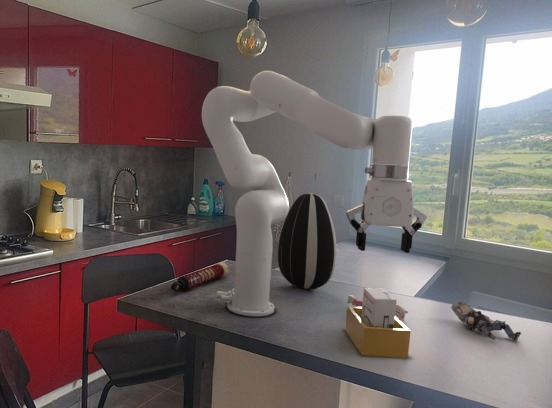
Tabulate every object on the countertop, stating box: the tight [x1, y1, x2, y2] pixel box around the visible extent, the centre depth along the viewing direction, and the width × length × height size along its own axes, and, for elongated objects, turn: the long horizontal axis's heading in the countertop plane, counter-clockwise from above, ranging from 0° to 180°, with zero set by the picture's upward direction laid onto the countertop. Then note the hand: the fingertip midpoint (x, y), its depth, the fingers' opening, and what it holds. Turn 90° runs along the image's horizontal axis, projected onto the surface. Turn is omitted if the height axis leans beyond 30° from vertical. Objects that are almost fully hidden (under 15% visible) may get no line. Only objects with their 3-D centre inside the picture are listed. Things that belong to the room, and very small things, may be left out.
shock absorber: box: [170, 261, 230, 292], centre depth 142 cm, size 5×5×30 cm
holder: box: [344, 306, 411, 359], centre depth 102 cm, size 10×14×6 cm
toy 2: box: [450, 299, 522, 342], centre depth 113 cm, size 7×11×15 cm
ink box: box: [361, 287, 397, 328], centre depth 102 cm, size 9×5×12 cm, turn 178°
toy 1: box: [346, 294, 409, 323], centre depth 120 cm, size 8×6×15 cm
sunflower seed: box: [277, 192, 338, 290], centre depth 142 cm, size 19×10×30 cm, turn 58°
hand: (383, 250), depth 101 cm, fingers open, 9 cm apart
